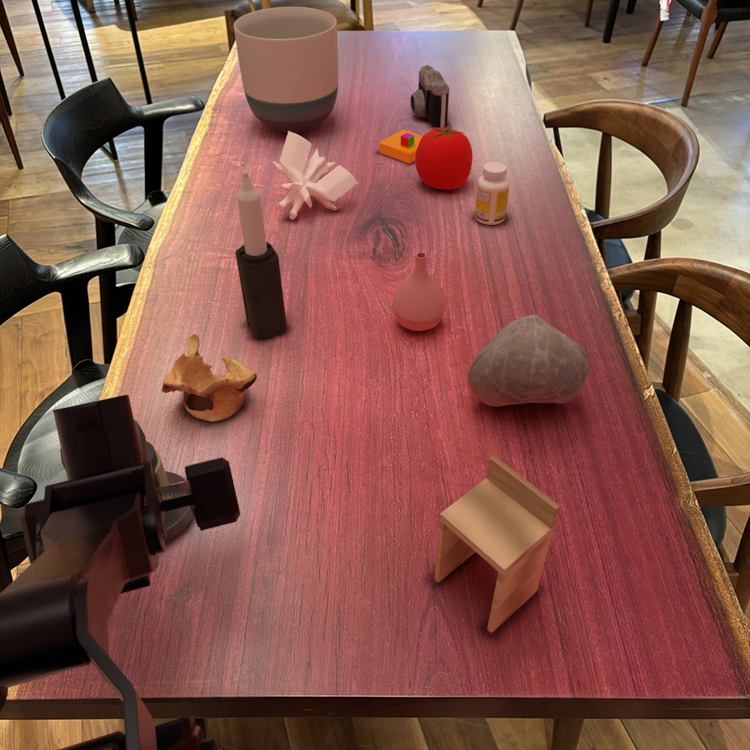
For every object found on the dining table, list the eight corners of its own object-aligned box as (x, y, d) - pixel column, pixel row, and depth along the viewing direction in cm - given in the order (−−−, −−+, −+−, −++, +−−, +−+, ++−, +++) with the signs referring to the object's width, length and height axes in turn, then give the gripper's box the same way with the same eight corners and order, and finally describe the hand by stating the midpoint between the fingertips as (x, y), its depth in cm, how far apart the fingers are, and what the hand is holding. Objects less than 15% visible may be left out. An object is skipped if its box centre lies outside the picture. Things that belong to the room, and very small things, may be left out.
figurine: (311, 250, 134) (348, 195, 139) (328, 227, 123) (367, 169, 128) (243, 202, 131) (284, 148, 136) (254, 174, 121) (298, 116, 125)
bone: (166, 431, 91) (152, 384, 85) (173, 379, 98) (160, 331, 92) (262, 423, 92) (253, 375, 86) (262, 371, 99) (254, 324, 93)
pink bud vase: (441, 343, 103) (446, 273, 95) (388, 337, 104) (389, 268, 96) (446, 310, 108) (451, 242, 100) (396, 305, 109) (397, 237, 101)
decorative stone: (567, 373, 98) (588, 284, 87) (592, 429, 90) (618, 338, 80) (458, 383, 97) (467, 293, 86) (475, 440, 89) (486, 349, 79)
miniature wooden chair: (491, 633, 70) (508, 550, 61) (434, 579, 75) (441, 493, 65) (537, 591, 74) (560, 505, 64) (479, 541, 78) (493, 454, 68)
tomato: (455, 203, 132) (459, 148, 124) (405, 189, 136) (406, 134, 128) (480, 179, 138) (485, 125, 131) (431, 167, 142) (434, 113, 135)
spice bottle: (180, 503, 80) (165, 457, 74) (141, 526, 78) (122, 480, 72) (160, 477, 83) (144, 430, 77) (121, 499, 80) (102, 452, 75)
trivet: (162, 558, 77) (158, 547, 76) (97, 528, 80) (92, 518, 79) (211, 497, 83) (208, 486, 82) (148, 471, 86) (144, 460, 84)
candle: (245, 321, 107) (219, 165, 90) (277, 312, 108) (257, 157, 91) (256, 341, 103) (230, 183, 86) (289, 332, 105) (270, 174, 88)
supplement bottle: (504, 210, 130) (510, 160, 123) (505, 226, 126) (512, 175, 119) (474, 209, 130) (479, 158, 123) (474, 225, 126) (479, 173, 119)
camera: (403, 104, 165) (404, 59, 158) (431, 101, 166) (433, 56, 159) (419, 131, 154) (421, 84, 147) (449, 128, 155) (452, 81, 148)
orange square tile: (379, 152, 147) (378, 132, 144) (403, 139, 151) (403, 119, 148) (409, 164, 143) (410, 143, 140) (433, 150, 148) (434, 130, 145)
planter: (234, 142, 151) (217, 35, 136) (266, 104, 166) (254, 4, 151) (327, 151, 148) (320, 42, 133) (351, 111, 162) (347, 9, 147)
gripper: (215, 403, 62) (217, 407, 77) (-17, 454, 58) (33, 447, 73) (243, 530, 61) (239, 509, 77) (12, 590, 57) (57, 555, 73)
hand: (144, 502), depth 75 cm, fingers open, 9 cm apart
